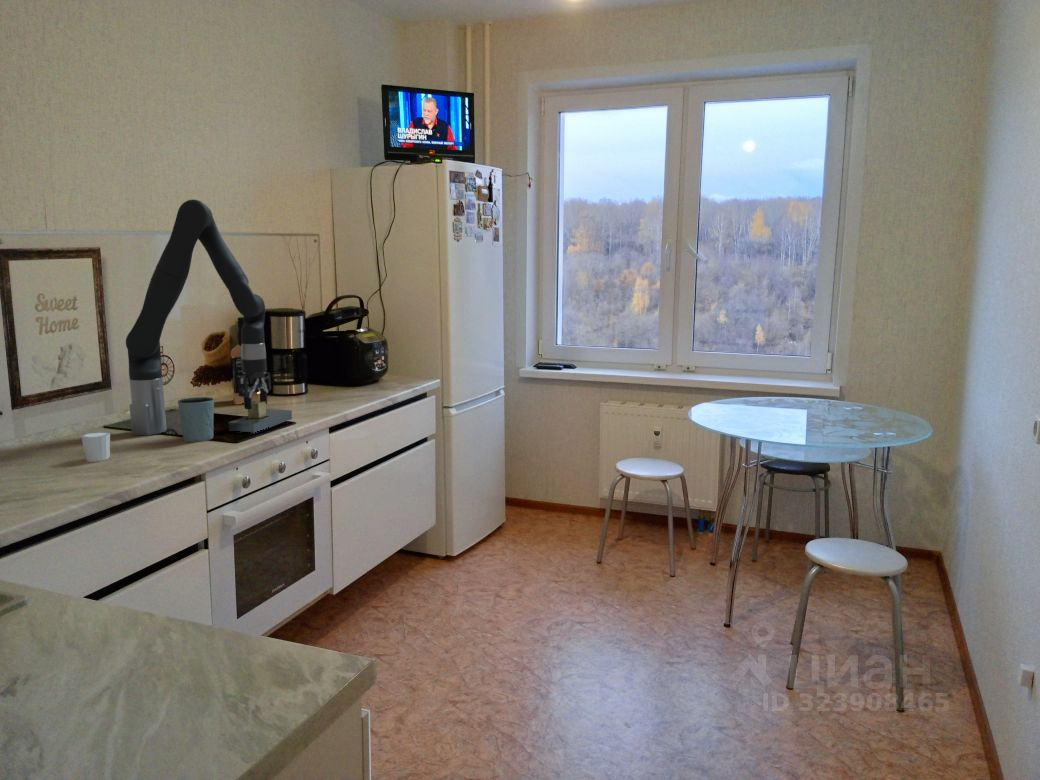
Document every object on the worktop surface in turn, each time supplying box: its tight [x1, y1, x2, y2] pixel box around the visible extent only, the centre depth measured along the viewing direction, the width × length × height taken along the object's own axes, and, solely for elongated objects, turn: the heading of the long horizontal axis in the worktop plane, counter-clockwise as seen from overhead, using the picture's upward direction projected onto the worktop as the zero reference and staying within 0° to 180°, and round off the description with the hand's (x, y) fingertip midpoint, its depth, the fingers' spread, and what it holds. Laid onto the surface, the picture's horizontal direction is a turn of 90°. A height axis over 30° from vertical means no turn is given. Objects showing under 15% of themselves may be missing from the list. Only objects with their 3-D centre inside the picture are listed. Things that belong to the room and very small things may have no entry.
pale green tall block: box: [247, 401, 267, 420], centre depth 252 cm, size 4×4×8 cm
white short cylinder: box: [81, 431, 111, 463], centre depth 213 cm, size 7×7×7 cm
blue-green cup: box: [177, 396, 215, 443], centre depth 236 cm, size 10×10×12 cm
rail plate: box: [228, 408, 293, 434], centre depth 255 cm, size 22×9×3 cm, turn 165°
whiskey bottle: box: [230, 316, 261, 405], centre depth 292 cm, size 10×10×32 cm
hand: (256, 406), depth 252 cm, fingers open, 8 cm apart
